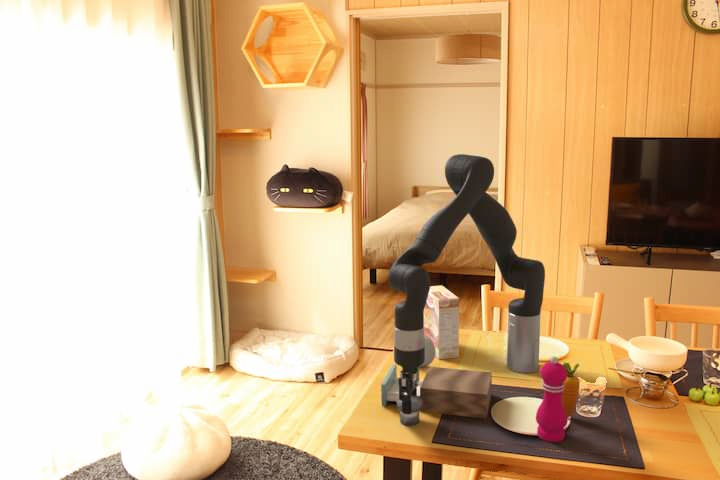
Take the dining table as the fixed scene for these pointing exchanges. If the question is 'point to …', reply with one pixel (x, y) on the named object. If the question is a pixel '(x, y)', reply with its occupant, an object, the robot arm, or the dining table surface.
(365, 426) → the dining table surface
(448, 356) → the coffeecake box
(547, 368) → the pepper mill
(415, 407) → the grey domed disc
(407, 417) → the shiny metal cylinder
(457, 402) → the housing
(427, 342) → the donut
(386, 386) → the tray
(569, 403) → the carrot
